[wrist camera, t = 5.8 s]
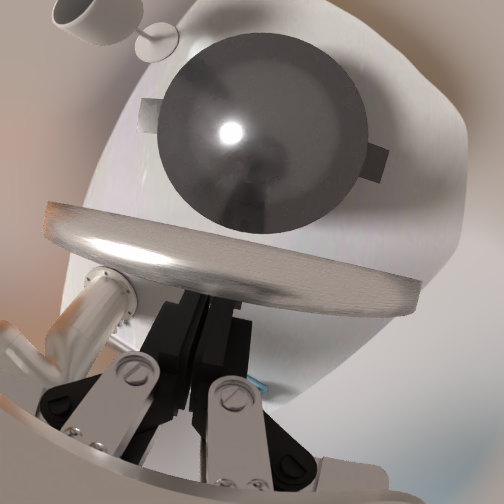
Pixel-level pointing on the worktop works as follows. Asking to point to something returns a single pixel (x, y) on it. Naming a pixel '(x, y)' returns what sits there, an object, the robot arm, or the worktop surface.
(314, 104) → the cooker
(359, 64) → the worktop surface
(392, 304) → the lid
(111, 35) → the wineglass
